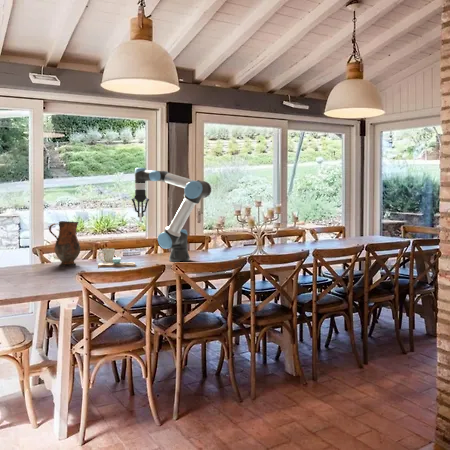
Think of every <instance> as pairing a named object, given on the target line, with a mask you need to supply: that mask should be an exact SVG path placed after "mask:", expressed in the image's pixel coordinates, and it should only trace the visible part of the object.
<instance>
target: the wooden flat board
mask: <svg viewBox="0 0 450 450" xmlns="http://www.w3.org/2000/svg"><path fill="white" fill-rule="evenodd" d="M122 267H123V268H124V267H125V268H127V267H129V268H130V267H132V268H133V267H136V262H120V264H114V262H111V263H105V262H99V263H97V269H100V268H122Z"/></svg>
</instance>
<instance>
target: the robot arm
mask: <svg viewBox="0 0 450 450" xmlns="http://www.w3.org/2000/svg"><path fill="white" fill-rule="evenodd" d="M134 182H135V183H134V196H133V198H131V201H132V203H133V207H134V211H135V213H137V217H138V219H139V223H142V220H143V217H144V213H146V211H147V207H148V202H149V201H150V199H149V198H148V197H147V195H146V194H147V192H146V187H147V184H146V183H147V182H162V183H166V184H169V185H173V186H176V187H179V188H182V189H184V190H183V191H184V194H183V197H184V198H183V201H182V202H181V204H180V206H179V208H178V210H177V211H176V213H175V215H174V217H173V219H172V220H171V223H170V224H169V226H168V225H167V226H166V227H165V228H164V230H163V232H161V233H159V234H158V235H157V242H158V246H160V247H161V248H162V249H164V250H165V249H166V250H168V249H171V251H170V254H169V257H168V260H169V262H174V263H181V262H180V261H183V263H185V262H189V261H191V258H190V253H189V251H188V236H189V235H188V230H187V229H183V227H184V226H185V224H186V222H187V221H188V218H189V217H190V215H191V213H192V211H193V210H194V208H195V206H196V205H198V204H199V203H200V201H201V200H202V199H205V198H207V197H209V196H210V195H211V194H212V186H211V184H210V183H209V182H207V181H204V180H200V179H198V180H197V179H196V180H195V179H190V178H188V177H184V176H180V175H178V174H174V173H171V172H169V171H167V170H154V169H153V170H146V168H145V167H136V168H135V169H134ZM136 201H137V202H136ZM144 202H145V206H144ZM136 203H137V205H136ZM140 205H141V211H140Z"/></svg>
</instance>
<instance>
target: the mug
mask: <svg viewBox="0 0 450 450" xmlns="http://www.w3.org/2000/svg"><path fill="white" fill-rule="evenodd" d="M115 250H116V249H115V248H102V251H101V250H100V251H99V252H98V253H97V258H98V260H100V261H101V262H103V263H114V262H113V258H115ZM101 254H102V256H103V257H102V258H101V257H100V255H101Z"/></svg>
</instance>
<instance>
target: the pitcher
mask: <svg viewBox="0 0 450 450" xmlns="http://www.w3.org/2000/svg"><path fill="white" fill-rule="evenodd" d="M78 224H79V222H78V221H66V220H64V221H63V220H61V221H58V227H59V228H58V229H59V231H58V235H56V234H55V233H53V232H52V228H53V226H55V225H56V223H51V224H50V226H49V227H48V231H49V233H50V234H51V235H52V236H53V237H55V239H56V241H55V243H54V254H55V255H56V257H57V259H58V260H60V261H61V263H59V266H60V267H71V266H76V265H77V263H76V262H75V260H76V259H78V257H79V255H80V253H81V244H80V241H79V239H78V235H77V228H78Z"/></svg>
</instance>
